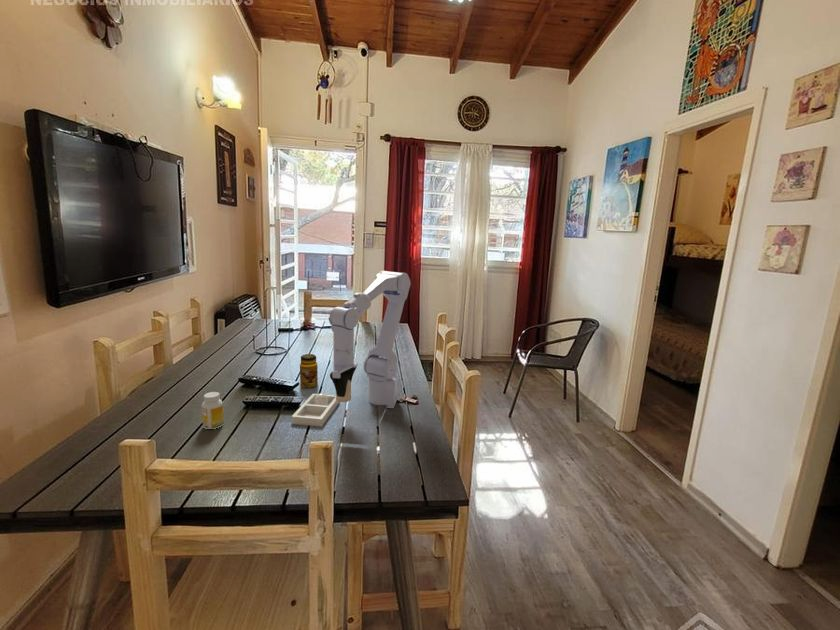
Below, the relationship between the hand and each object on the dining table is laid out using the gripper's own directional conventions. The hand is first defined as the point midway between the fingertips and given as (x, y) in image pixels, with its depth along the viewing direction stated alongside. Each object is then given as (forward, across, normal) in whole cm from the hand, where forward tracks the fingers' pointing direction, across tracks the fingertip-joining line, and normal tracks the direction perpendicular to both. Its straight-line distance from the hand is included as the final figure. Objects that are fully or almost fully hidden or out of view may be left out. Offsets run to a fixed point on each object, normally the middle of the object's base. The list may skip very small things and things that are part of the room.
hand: (343, 392), depth 121 cm
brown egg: (+2, 0, 0) cm, 2 cm away
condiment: (+10, +24, +20) cm, 33 cm away
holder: (+9, +4, +9) cm, 14 cm away
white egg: (+9, +8, +9) cm, 15 cm away
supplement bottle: (+10, -9, +36) cm, 38 cm away
